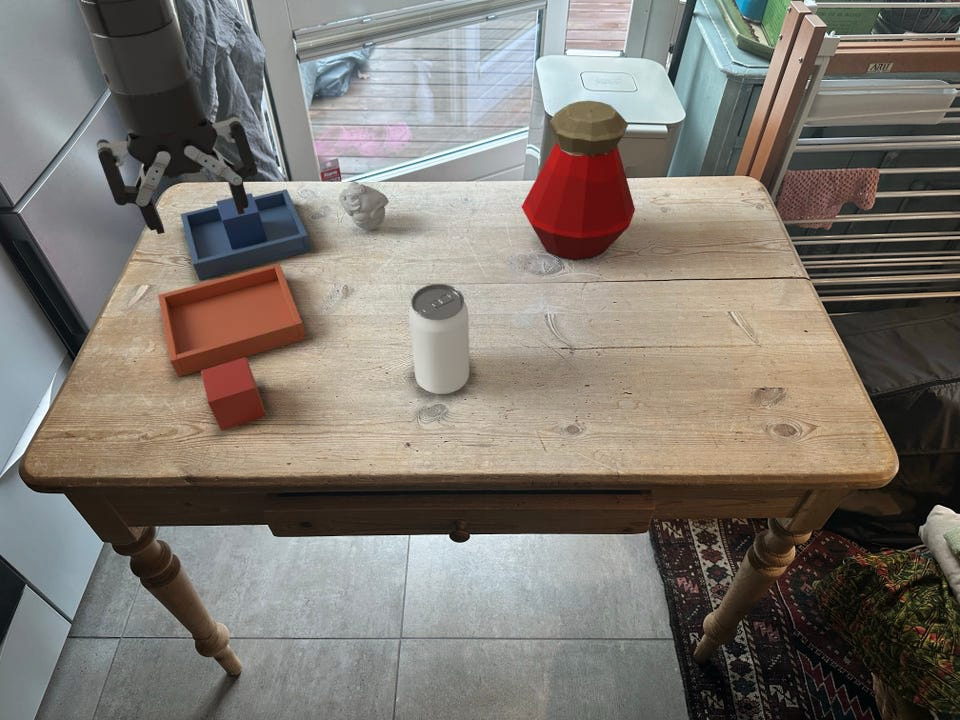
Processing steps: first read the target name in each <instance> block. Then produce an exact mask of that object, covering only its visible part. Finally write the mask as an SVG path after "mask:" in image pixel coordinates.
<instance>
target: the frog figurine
mask: <svg viewBox="0 0 960 720" xmlns="http://www.w3.org/2000/svg"><path fill="white" fill-rule="evenodd" d="M338 200H339V203H340V206H341V207H342V208H343V209H344V210H345V212H346V213H347V215H348V216H350V217H351V220H352V221H353V223H354V224H355V225H356V226H357V227H358V228H360V229H362V230H366V231H367V230H368V231H370V230H375V229H377V228H378V227H380V226H381V225H382V223H383V222H384V220H385V218H386V217H385V216H386V206H388V205H389V199H388V197H387V196H386V195H385V194H384V193H382V192H381V191H380V190H377V189H376V188H373V187H371V186H368V185H365V184H363V183H359V182H357V181H352V182H350V183H349V184H348V186H347V188H346V189H343V190H342V191H341V192H340V193H338Z"/></svg>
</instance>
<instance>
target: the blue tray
mask: <svg viewBox="0 0 960 720" xmlns="http://www.w3.org/2000/svg"><path fill="white" fill-rule="evenodd" d="M253 198H254V200H255V203H256V205H257V208H258V211H259V214H260V217H261V221H262V224H263V228H264V231H265V235H266V238H267V241H264V242H260V243H256V244H252V245H248V246H244V247H240V248H236V249H232V248H231V245H230V242H229V239H228V236H227V233H226V231H225V228H224V225H223V222H222V219H221V215H220V212H219V209H218V206H217V205H213V206H209V207H205V208H200V209H196V210H192V211H188V212H183V213H180V218H181V222H182V226H183V231H184V234H185V238H186V242H187V246H188V250H189V254H190V258H191V263H192V265H193V268H194V271H195V273H196V275H197V278H198V280H199V281H201V280H206V279H210V278H214V277H218V276H220V275H224V274H230V273H232V272H237V271H241V270H244V269H248V268H251V267H256V266H259V265H263V264H266V263H270V262H274V261H278V260H282V259H286V258H291V257H295V256H297V255H298V256H299V255H301V254H306V253H309V252H312V248H311V247H312V246H311V243H310V240H309V234H308V232H307V231H306V229H305V228H306V227H304V223H303V222H302V220H301V217H300V215H299V213H298V211H297V208H296V206H295V204H294V202H293V200H292V197H291V196H290V193H289V191H288V188H287V189H282V190H277V191H273V192H268V193H264V194H260V195H255V196H253Z"/></svg>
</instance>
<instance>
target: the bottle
mask: <svg viewBox="0 0 960 720" xmlns="http://www.w3.org/2000/svg"><path fill="white" fill-rule="evenodd" d="M549 126H550V128H551V130H552V134H553V136H554V139H555V144H554V145H553V147H552V150H551V151H550V153H549V155H548V157H547V159H546V161H545V163H544V164H543V166H542V168H541V170H540V172H539V173H538V175H537V176H536V179H535V181H534V183H533V184H532V187H531V188H530V190H529V192H528V193H527V195H526V197H525V200H524V201H523V203H522V205H521V210H522V211H523V213H524V215H525V217H526V218H527V220H528V222H529V224H530V226H531V227H532V228H533V231H534V233H535V234H536V236H537V237H538V240H539V241H540V244H542V246H543V248H544V250H545V251H546V253H548V254H550V255H553V256H555V257H557V258H560V259H564V260H570V261H582V260H591V259H594V258H596V257H598V256H601V255H603V254H604V253H605V252H606V251H607V250H608V249H609V248H610V247H611V246H612V245H613V244H614V243H615V242H616V241H617V240H618V239H619V238H620V237H621V236H622V235H623V233H624V232H626V230H628V228H629V227H630V225H631V222H632V220H633V217H634V214H635V211H636V207H635V204H634V199H633V196H632V193H631V189H630V185H629V183H628V178H627V176H626V175H627V174H626V172H625V171H626V170H625V167H624V165H623V164H624V163H623V161H622V157H621V154H620V151H619V147H618V144H619V143H620V141H621V140H622V138H623V137H624V135H625V133H626V131H627V129H628V126H629V123H628V122H627V121H626V119H624V116H622V115H621V114H620V113H619V112H618V111H617V110H616V108H614V107H613V106H612V105H611V104H608V103H605V102H603V101H595V100H581V101H575V102H572V103H569V104H567V105H566V106H564V107H562V108H561V109H560V110H558V111H556V112H555V113H554V115H553V116H552V118H551V119H550V121H549Z"/></svg>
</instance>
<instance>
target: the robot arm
mask: <svg viewBox="0 0 960 720" xmlns="http://www.w3.org/2000/svg"><path fill="white" fill-rule="evenodd" d="M76 1H77V4H78V8H79V10H80V12H81V15H82V17H83V20H84V22H85V25H86V27H87V29H88V32H89V35H90V39H91V43H92V47H93V51H94V54H95V57H96V60H97V63H98V65H99V68H100V73H101V76H102V78H103V80H104V82H105V83H106V85H107V88H108V89H109V93H110V95H111V97H112V100H113V102H114V105H115V108H116V110H117V112H118V115H119V117H120V120H121V122H122V125H123V127H124V130H125V132H126V139H125V140H123V141H115V142H110V141H109V140H107V139H99V140H97V142H96V149H97V150H96V151H97V156H98V159H99V162H100V165H101V168H102V170H103V173H104V176H105V179H106V181H107V185H108V187H109V189H110V193H111V195H112V197H113V200H114V202H115V204H116V205H118V206H126V205H127V204H133V205H136V206H137V207H138V208H139V210H140V212H141V215H142V217H143V220H144V222H145V225H146V226H147V228H148V229H149V230H150V231H151V232H152V231H156V233H157V235H162V234H165V232H166V231H165V229H164V224H163V221H162V219H161V215H160V213H159V210H158V209H157V206H156V204H155V201H154V198H153V194H154V191H156V190H157V189H158V186H159V184H160V182H161V179H162V177H166V178H167V177H168V179H174V178H178V177H180V176H182V175H184V174H191V175H192V174H197V173H201V170H203V168H205V169H207V170H208V171H209V172H211V173H212V174H214V175H216V176H217V177H221V178H223V179H224V180H225V181H227V183H228V186H229V190H230V193H231V198H233V200H234V203H235V207H236V209H237V212H238V215H240V214H244V213H245V212H244V208H248V204H249V203H248V199H247V196H246V194H247V192H246V189H245V186H244V181H245V180H246V179H247V178H249V177H255V176H257V174H258V171H259V170H258V167H257V164H256V160H255V158H254V155H253V152H252V149H251V146H250V143H249V140H248V136H247V134H246V131H245V128H244V125H243V124H242V121H241V119H240V117H239V115H237V114H236V113H230V114H228V115H227V116H226V119H225V120H222V121H218V122H214V123H213V122H211V121H210V120H209V118H208V116H207V114H206V113H207V112H206V111H205V110H206V109H205V107H204V104H203V101H202V97H201V94H200V90H199V87H198V84H197V81H196V77H195V75H194V70H193V68H192V60H191V58H190V56H189V53H188V51H187V48H186V45H185V42H184V40H183V37H182V34H181V32H180V30H179V29H178V26H177V23H176V21H175V17H174V16H173V13H172V9H171V6H170V3H169V0H76ZM219 136H220V137H223V138H224V139H225V141H226V142H227V143H229V144H235V147H236V149H237V153H238V156H239V159H240V161H238V162H236V163H233V162H231V161H230V160H229V159H227V158H226V157H224V156H223V155H222V153H221V152H219V151H218V150H217V149H215V145H216V143H217V141H218V137H219ZM128 155H130V156H131V157H132V158H133V159H135V160H136V161H138V162H139V163H141V165H140V168H139V172H138V176H137V178H136V180H135V183H134V185H126V184H125V181H124V178H123V176H122V173H121V169H120V167H123V165H125V157H126V156H128Z"/></svg>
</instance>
